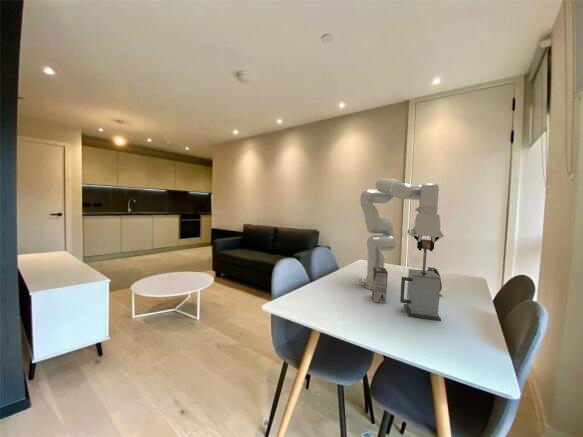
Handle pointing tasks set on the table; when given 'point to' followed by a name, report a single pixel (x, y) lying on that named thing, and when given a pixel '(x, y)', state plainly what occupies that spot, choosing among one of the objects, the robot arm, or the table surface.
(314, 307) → the table surface
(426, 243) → the plunger
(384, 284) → the coffee box
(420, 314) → the press
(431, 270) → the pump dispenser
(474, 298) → the table surface
